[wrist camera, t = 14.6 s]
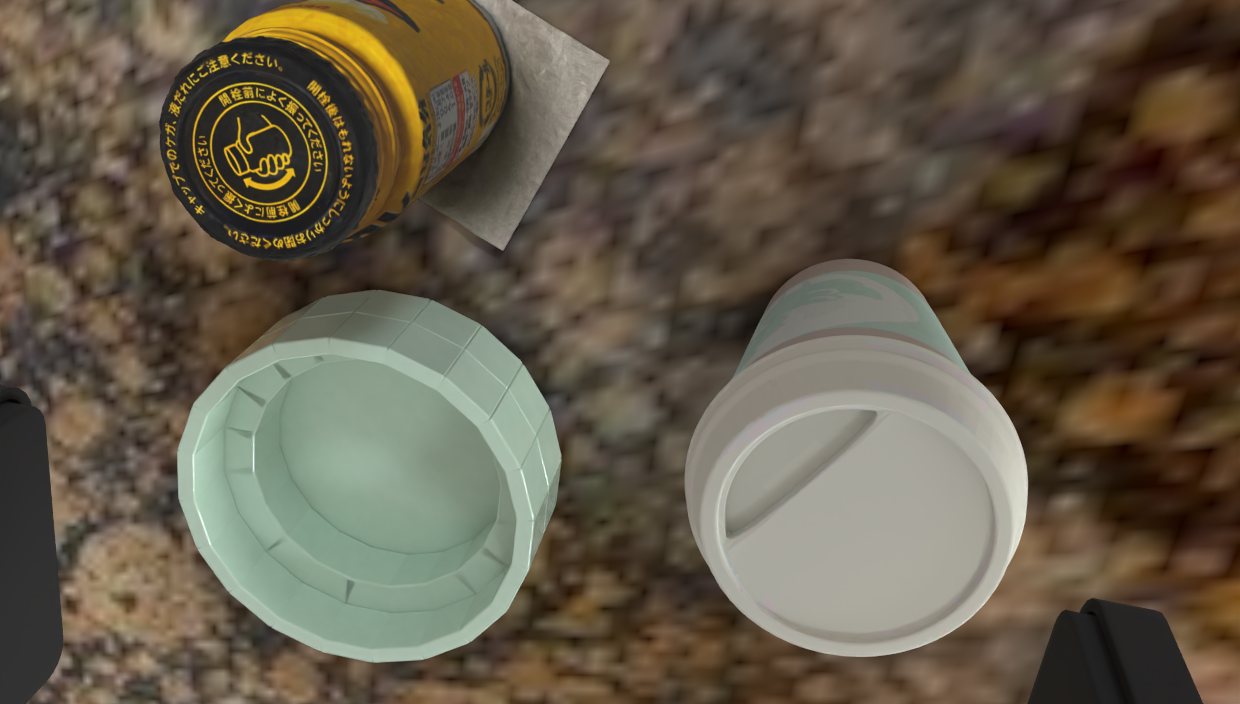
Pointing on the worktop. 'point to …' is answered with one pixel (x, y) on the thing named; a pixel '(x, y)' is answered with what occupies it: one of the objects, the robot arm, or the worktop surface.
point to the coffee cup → (855, 470)
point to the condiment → (371, 120)
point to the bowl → (371, 476)
